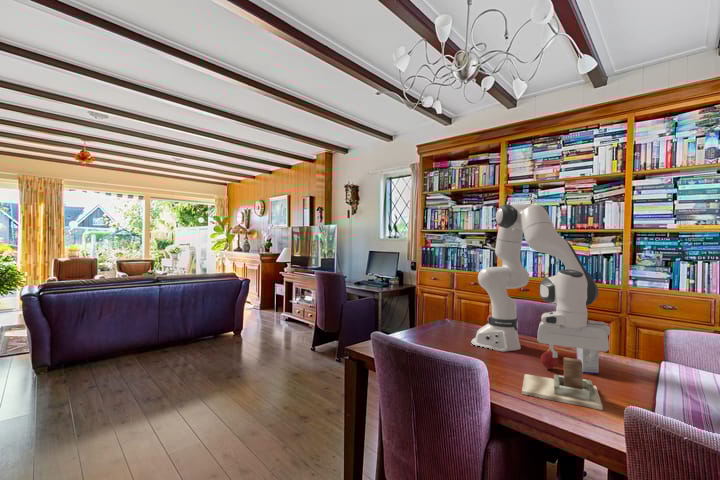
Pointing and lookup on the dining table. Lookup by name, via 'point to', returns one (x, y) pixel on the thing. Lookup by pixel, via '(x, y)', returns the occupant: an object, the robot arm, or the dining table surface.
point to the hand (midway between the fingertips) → (571, 359)
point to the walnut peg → (573, 373)
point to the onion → (548, 359)
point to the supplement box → (588, 367)
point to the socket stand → (562, 391)
